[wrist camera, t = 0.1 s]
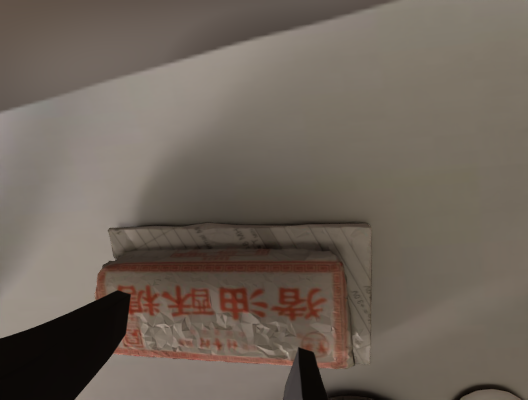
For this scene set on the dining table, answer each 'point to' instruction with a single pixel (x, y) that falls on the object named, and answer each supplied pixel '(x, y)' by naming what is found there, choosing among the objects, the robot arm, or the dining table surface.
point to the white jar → (490, 395)
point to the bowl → (349, 398)
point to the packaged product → (244, 292)
